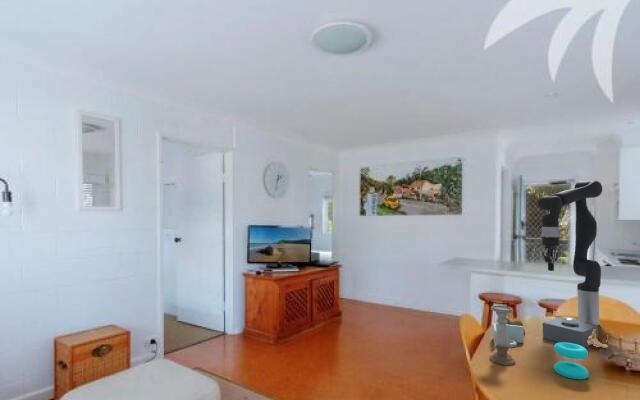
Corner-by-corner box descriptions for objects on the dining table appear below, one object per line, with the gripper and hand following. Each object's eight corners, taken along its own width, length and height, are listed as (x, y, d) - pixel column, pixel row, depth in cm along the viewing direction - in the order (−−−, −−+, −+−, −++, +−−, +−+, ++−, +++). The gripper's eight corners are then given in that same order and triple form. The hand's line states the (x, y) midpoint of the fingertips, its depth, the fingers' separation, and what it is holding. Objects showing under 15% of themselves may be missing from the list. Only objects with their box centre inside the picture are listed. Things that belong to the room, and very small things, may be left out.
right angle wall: (494, 348, 157) (494, 330, 157) (493, 339, 168) (493, 322, 168) (526, 352, 152) (526, 334, 152) (523, 343, 163) (523, 326, 163)
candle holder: (512, 367, 135) (512, 312, 136) (487, 361, 141) (486, 308, 141) (516, 360, 142) (516, 307, 143) (492, 354, 148) (492, 303, 148)
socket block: (558, 332, 178) (558, 317, 178) (597, 341, 165) (597, 325, 165) (542, 338, 169) (542, 322, 169) (583, 348, 155) (582, 332, 156)
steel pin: (565, 334, 171) (565, 315, 171) (581, 338, 166) (580, 319, 166) (559, 336, 168) (558, 318, 168) (575, 340, 162) (574, 321, 163)
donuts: (586, 353, 123) (552, 346, 130) (587, 383, 123) (552, 375, 129) (588, 345, 131) (555, 339, 138) (589, 373, 131) (556, 366, 137)
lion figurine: (505, 338, 168) (505, 318, 169) (495, 334, 173) (495, 315, 174) (528, 334, 174) (528, 315, 174) (518, 331, 179) (518, 312, 179)
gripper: (548, 235, 191) (548, 268, 190) (536, 235, 183) (536, 270, 182) (564, 235, 185) (565, 270, 184) (552, 236, 177) (553, 272, 176)
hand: (551, 270), depth 183 cm, fingers closed
